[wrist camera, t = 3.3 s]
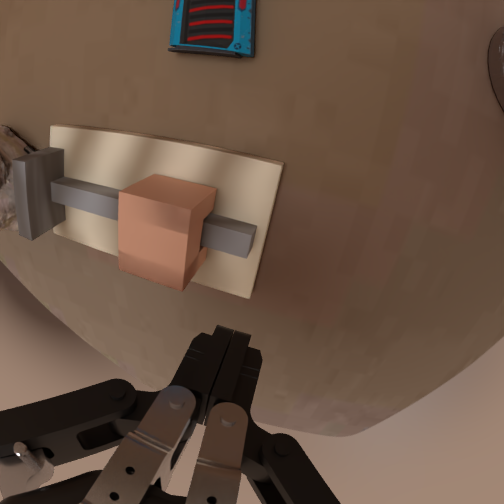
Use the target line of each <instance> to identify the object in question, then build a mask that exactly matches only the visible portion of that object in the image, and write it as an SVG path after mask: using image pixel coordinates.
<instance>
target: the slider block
mask: <svg viewBox="0 0 504 504" xmlns="http://www.w3.org/2000/svg"><path fill="white" fill-rule="evenodd" d="M216 190H217V188H213V187H209V186H205V185H200V184H196V183H192V182H188V181H183V180H179V179H175V178H170V177H166V176H161V175H157V174H153V175H151V176H149V177H147V178H145V179H143V180H140V181H138V182H136V183H134V184H132V185H130V186H129V187H127V188H125V189H123V190H121V191H119V204H118V252H119V270H122V271H125V272H127V273H130V274H133V275H136V276H138V277H141V278H144V279H147V280H150V281H153V282H155V283H158V284H161V285H164V286H167V287H170V288H173V289H176V290H179V291H182V292H183V290H184V289H185V287H186V286H187V285H188V283H189V282H190V280H191V279H192V278H193V276H194V275H195V273H196V272H197V271H198V269H199V268H200V267H201V265H202V264H203V262H204V261H205V260H206V254H207V247H204V246H201V245H200V241H201V233H202V226H203V219H204V218H205V217H206V216H207V215H208V214H209V213H210V212H211V211H212V210H213V208H214V202H215V196H216Z"/></svg>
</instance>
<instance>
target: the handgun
mask: <svg viewBox="0 0 504 504" xmlns="http://www.w3.org/2000/svg"><path fill="white" fill-rule="evenodd" d="M255 5H256V0H174V8H173V16H172V25H171V34H170V46H173V47H175V48H168V51H171V52H179V53H194V54H207V55H217V56H226V57H235V58H241V56H246V57H254V35H255Z"/></svg>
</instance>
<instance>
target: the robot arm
mask: <svg viewBox="0 0 504 504" xmlns="http://www.w3.org/2000/svg"><path fill="white" fill-rule="evenodd" d="M488 63H489V72H490V77H491V81H492V85H493V88H494V91H495V93H496V96H497V99H498V101H499V103H500V104H501V106H502V108H503V110H504V27H501V28H500V29H499V30H498V31H497V32H496V33H495V35H494V36H493V38H492V40H491V44H490V48H489V59H488ZM233 332H234V330H233V329H230V328H226V327H223V326H220V325H217V326H216V329H215V331H214V333H213V335H208V334H205V333H201V334H199V335H198V336H197V337H195V338H194V339H193V340H192V342H191V344H190V346H189V349H188V350H187V352H186V354H185V357H184V358H183V360H182V362H181V364H180V366H179V368H178V370H177V372H176V374H175V376H174V378H173V379H172V381H171V383H170V384H169V386H167V387H166V388H164V389H163V390H160V391H156V392H146V391H138V390H135V388H134V387H133V386H132V385H131V383H129V382H128V381H126V380H122V379H111V380H108V381H105V382H102V383H99V384H96V385H92V386H89V387H86V388H83V389H80V390H76V391H73V392H70V393H66V394H63V395H59V396H56V397H53V398H49V399H46V400H42V401H38V402H34V403H31V404H27V405H23V406H19V407H15V408H12V409H7V410H3V411H0V491H1V493H2V496H3V500H2V501H1V502H0V504H236V502H237V497H238V491H239V486H240V480H241V473H243V474H245V475H246V476H247V479H248V481H249V482H250V484H251V486H252V488H253V490H254V491H255V493H256V494H257V496H258V498H259V500H260V501H261V503H262V504H340V502H339V501H338V499H337V498H336V497H335V495H334V494H333V493H332V491H331V490H330V488H329V487H328V485H327V484H326V483H325V481H324V480H323V478H322V477H321V475H320V474H319V473H318V471H317V470H316V468H315V467H314V465H313V464H312V462H311V461H310V459H309V458H308V456H307V455H306V454H305V452H304V451H303V449H302V448H301V446H300V445H299V443H298V442H297V441H296V440H295V439H294V438H293V437H292V436H290V435H287V434H283V433H277V434H270V433H268V432H266V431H265V430H263V429H261V428H260V427H258V426H257V425H256V424H255V422H254V421H253V419H252V417H251V414H250V408H251V404H252V400H253V396H254V392H255V389H256V385H257V381H258V377H259V373H260V369H261V365H262V361H263V360H262V356H261V352H260V350H258V349H254V348H251V347H248V345H249V341H250V338H251V335H250V334H246V333H243V332H240V331H236V330H235V332H234V334H233ZM232 336H233V337H232ZM205 416H206V418H205ZM204 419H205V422H204V425H205V426H206V429H205V433H204V436H203V440H202V444H201V448H200V451H199V456H198V459H197V462H196V465H195V469H194V473H193V477H192V481H191V485H190V488H189V491H188V495H187V497H183V496H175V495H170V494H168V493H166V492H165V491H166V489H167V487H168V484H169V482H170V479H171V476H172V473H173V471H174V469H175V467H176V465H177V464H178V462H179V459H180V458H181V456H182V454H183V451H184V450H185V448H186V446H187V444H188V442H189V440H190V438H191V436H192V434H193V431H194V429H195V426H196V424H197V423H199V424H203V421H204ZM118 445H119V446H118ZM115 446H118V448H117V449H116V451H115V452H114V454H113V455H112V457H111V458H110V460H109V462H108V463H107V465H106V466H105V468H104V469H103V470H95V471H91V472H87V473H84V474H81V475H78V476H76V477H73V478H70V479H67V480H64V481H61V482H58V483H55V484H52V485H48V486H45V487H42V488H39V486H40V485H41V484H43V483H45V482H47V481H49V480H50V479H51V477H52V476H53V473H54V466H58V465H61V464H64V463H67V462H71V461H74V460H77V459H81V458H84V457H87V456H90V455H93V454H96V453H98V452H101V451H104V450H107V449H110V448H112V447H115Z"/></svg>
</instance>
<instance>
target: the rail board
mask: <svg viewBox="0 0 504 504" xmlns="http://www.w3.org/2000/svg"><path fill="white" fill-rule="evenodd" d="M283 165H284V163H283V162H279V161H275V160H271V159H267V158H263V157H259V156H255V155H251V154H246V153H242V152H238V151H233V150H228V149H224V148H219V147H214V146H210V145H205V144H199V143H194V142H189V141H184V140H178V139H172V138H167V137H161V136H155V135H148V134H142V133H135V132H128V131H120V130H113V129H105V128H96V127H87V126H76V125H65V124H57V125H53V126H51V127H50V147H49V148H45V149H42V150H39V151H36V152H33V153H30V154H27V155H24V156H21V157H18V158H15V159H12V168H13V185H14V196H15V206H16V215H17V222H18V229H19V235H20V236H23V237H25V238H27V239H29V240H31V241H32V240H34V239H35V238H37V237H39V236H40V235H42V234H43V233H45V232H47V231H48V230H50V229H51V228H53V230H54V233H55V234H58V235H61V236H63V237H66V238H68V239H71V240H74V241H76V242H79V243H82V244H85V245H87V246H90V247H93V248H96V249H98V250H101V251H104V252H107V253H109V254H112V255H115V256H118V257H119V252H118V204H119V191H121V190H123V189H125V188H127V187H129V186H130V185H132V184H134V183H136V182H138V181H140V180H143V179H145V178H147V177H149V176H151V175H153V174H157V175H161V176H166V177H170V178H175V179H179V180H183V181H188V182H192V183H196V184H200V185H205V186H209V187H213V188H217V190H216V196H215V202H214V208H213V210H212V211H211V212H210V213H209V214H208V215H207V216H206V217H205V218H204V219H203V226H202V233H201V241H200V245H201V246H204V247H207V254H206V260H205V261H204V262H203V264H202V265H201V267H200V268H199V269H198V271H197V272H196V273H195V275H194V276H193V278H192V279H191V280H190V281H192V282H195V283H199V284H202V285H205V286H208V287H211V288H215V289H218V290H221V291H224V292H227V293H231V294H234V295H237V296H241V297H244V298H247V299H250V296H251V294H252V291H253V287H254V283H255V279H256V275H257V271H258V267H259V263H260V259H261V255H262V251H263V247H264V243H265V239H266V235H267V231H268V227H269V223H270V219H271V215H272V210H273V206H274V202H275V198H276V194H277V190H278V186H279V182H280V178H281V173H282V169H283Z"/></svg>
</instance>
